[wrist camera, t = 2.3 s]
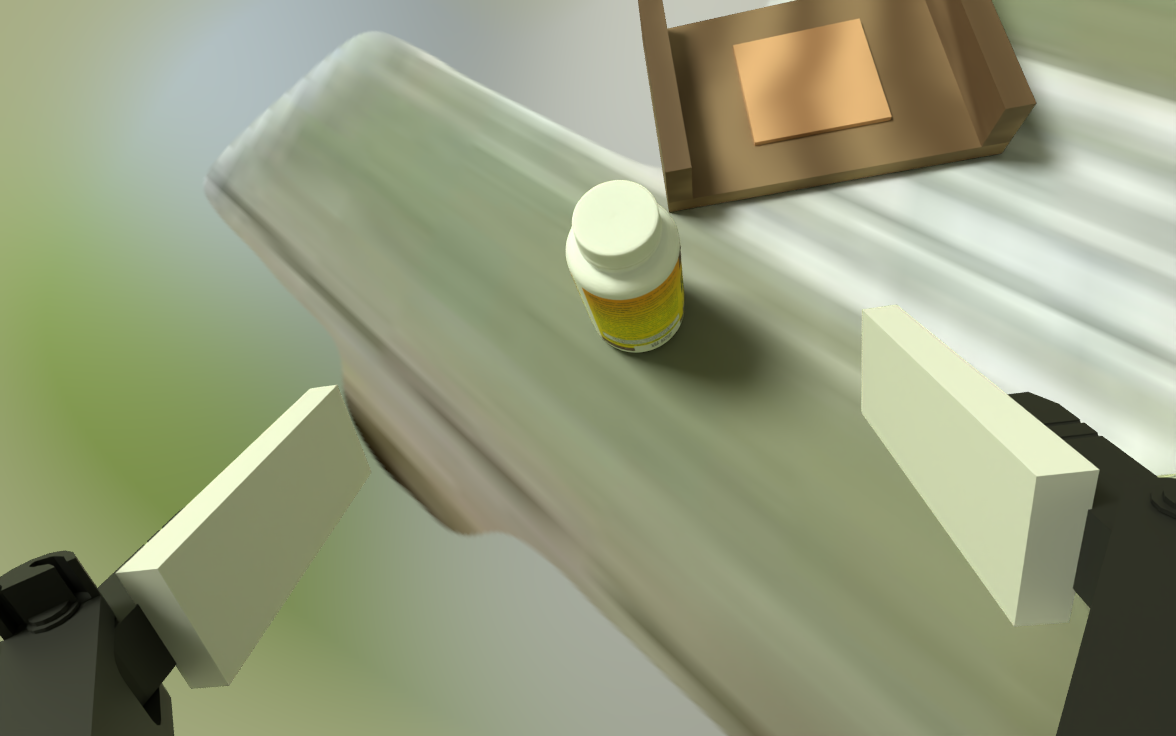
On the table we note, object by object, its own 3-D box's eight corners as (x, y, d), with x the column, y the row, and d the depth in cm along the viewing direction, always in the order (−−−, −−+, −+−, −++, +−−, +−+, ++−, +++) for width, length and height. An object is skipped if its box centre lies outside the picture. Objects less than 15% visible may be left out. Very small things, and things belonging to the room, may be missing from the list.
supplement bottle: (703, 325, 35) (702, 231, 26) (620, 372, 35) (589, 295, 26) (655, 255, 37) (638, 144, 28) (576, 299, 37) (533, 203, 28)
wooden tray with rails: (934, -17, 40) (957, -78, 37) (1001, 153, 35) (1036, 103, 32) (643, 46, 43) (637, -5, 39) (669, 212, 38) (665, 172, 34)
